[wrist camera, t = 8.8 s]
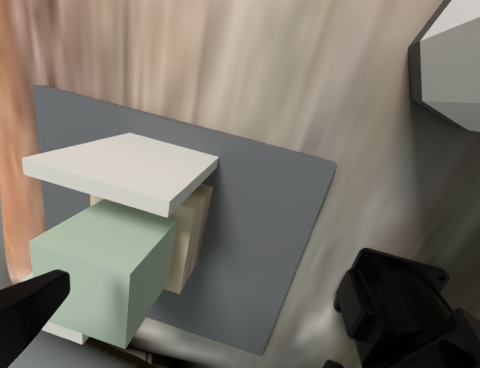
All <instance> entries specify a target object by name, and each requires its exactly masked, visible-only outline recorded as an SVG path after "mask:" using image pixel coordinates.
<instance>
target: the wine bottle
mask: <svg viewBox="0 0 480 368" xmlns="http://www.w3.org/2000/svg"><path fill="white" fill-rule="evenodd" d="M409 63H410V83H411V99H412V100H413V101H415V102H416V103H418V104H419V105H421V106H423V107H424V108H426V109H427V110H429V111H430V112H432V113H434V114H435V115H437V116H438V117H440V118H441V119H443V120H444V121H446V122H448V123H449V124H451V125H453V126H455V127H458V128H461V129H466V130H470V131H476V132H480V0H444V1H443V2H442V4H441V5H440V6H439V8H438V9H437V10H436V12H435V13H434V14H433V16H432V17H431V18H430V20H429V21H428V22H427V24H426V25H425V26H424V27H423V29H422V30H421V31H420V33H419V34H418V35H417V37H416V38H415V39H414V41H413V42H412V43H411V45H410V46H409Z"/></svg>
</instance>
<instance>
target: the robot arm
mask: <svg viewBox="0 0 480 368" xmlns="http://www.w3.org/2000/svg"><path fill="white" fill-rule="evenodd" d="M365 254H369V255H368V256H364V255H365ZM439 276H441V277H439ZM449 279H450V277H449V275H448V274H447V273H446V272H445V271H444V270H442V269H439V268H435V267H432V266H428V265H425V264H421V263H418V262H415V261H411V260H408V259H404V258H401V257H397V256H394V255H390V254H387V253H384V252H380V251H377V250H373V249H370V248H363V249H361V250H360V252H359V254H358V256H357V258H356V260H355V262H354V264H353V266H352V268H351V269H349V270H348V271H347V273H346V275H345V277H344V279H343V281H342V283H341V285H340V287H339V289H338V291H337V297H336V299H335V301H334V308H335V310H336V311H338V312H340V313H342V316H343V320H344V324H345V328H346V332H347V335H348V336H349V338H350V339H353V340H354V341H355V344H356V348H357V351H358V355H359V359H360V362H361V366H362V368H480V321H479V320H477V319H476V318H474V317H473V316H472V315H470V314H469V313H467V312H466V311H465V310H463V309H462V308H458V309H456V310H455V311H453V310H452V308H451V307H450V306H449V304H448V303H447V302H446V301H445V299H444V298H443V297H442V295H441V294H440V292H441V291H442V289H443V288H444V286H445V285H446V284H447V282H448V281H449ZM70 290H71V287H70V274H69V273H68V272H66V271H63V270H60V269H56V270H52V271H50V272H47V273H44V274H42V275H39V276H36V277H34V278H31V279H28V280H26V281H23V282H20V283H18V284H15V285H12V286H9V287H7V288H4V289H2V290H0V368H8V367H9V365H10V364H11V363H12V362H13V361H14V360H15V359H16V358H17V357H18V356H19V355H20V354H21V353H22V351H23V350H24V349H25V348H26V347H27V346H28V345H29V344H30V343H31V342H32V340H33V339H34V338H35V337H36V336H37V335H38V333H39V332H40V331H41V330H42V328H43V327H44V326H45V325H46V323H47V322H48V321H49V319H50V318H51V317H52V316H53V314H54V313H55V312H56V311H57V309H58V308H59V307H60V306H61V304H62V303H63V302H64V301H65V299H66V298H67V297H68V295H69V293H70ZM323 368H344V367H343V366H342V365H341V364H340V363H338V362H335V361H332V360H327V361H326V362H325V364H324V366H323Z"/></svg>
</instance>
